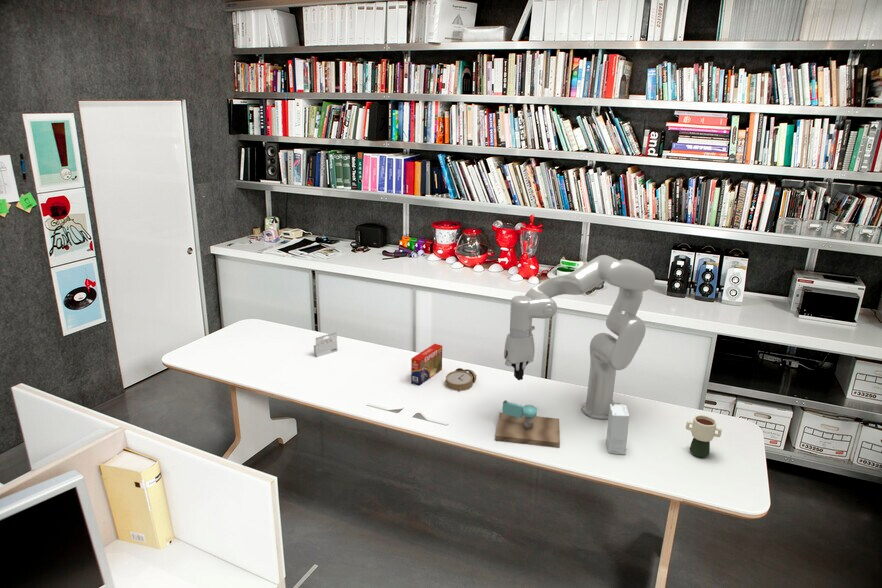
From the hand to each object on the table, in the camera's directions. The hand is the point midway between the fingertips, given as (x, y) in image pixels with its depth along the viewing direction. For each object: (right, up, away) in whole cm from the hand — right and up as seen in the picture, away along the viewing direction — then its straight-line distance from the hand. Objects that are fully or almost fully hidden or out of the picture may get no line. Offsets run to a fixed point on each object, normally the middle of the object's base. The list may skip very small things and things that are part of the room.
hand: (518, 378), depth 211 cm
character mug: (+60, -25, -9) cm, 66 cm away
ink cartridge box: (-81, +3, +61) cm, 101 cm away
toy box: (-34, -5, +41) cm, 53 cm away
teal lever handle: (0, -14, +1) cm, 14 cm away
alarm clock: (-19, -7, +36) cm, 42 cm away
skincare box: (+32, -23, -7) cm, 40 cm away
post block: (+4, -19, +2) cm, 20 cm away
